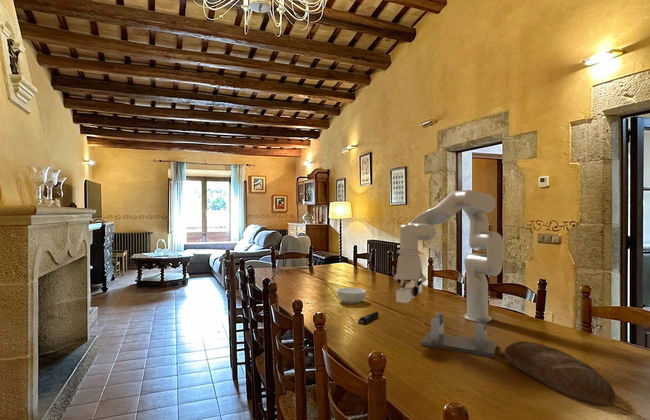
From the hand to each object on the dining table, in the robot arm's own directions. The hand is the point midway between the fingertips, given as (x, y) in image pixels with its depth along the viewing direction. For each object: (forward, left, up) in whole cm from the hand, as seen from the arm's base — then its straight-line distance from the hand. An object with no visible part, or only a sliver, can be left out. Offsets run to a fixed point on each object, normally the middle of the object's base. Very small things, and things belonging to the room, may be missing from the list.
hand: (409, 294), depth 157 cm
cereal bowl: (-37, -45, -17) cm, 61 cm away
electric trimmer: (-8, -23, -17) cm, 29 cm away
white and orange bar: (0, 0, -1) cm, 1 cm away
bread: (+20, +51, -17) cm, 58 cm away
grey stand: (+6, +21, -16) cm, 27 cm away
